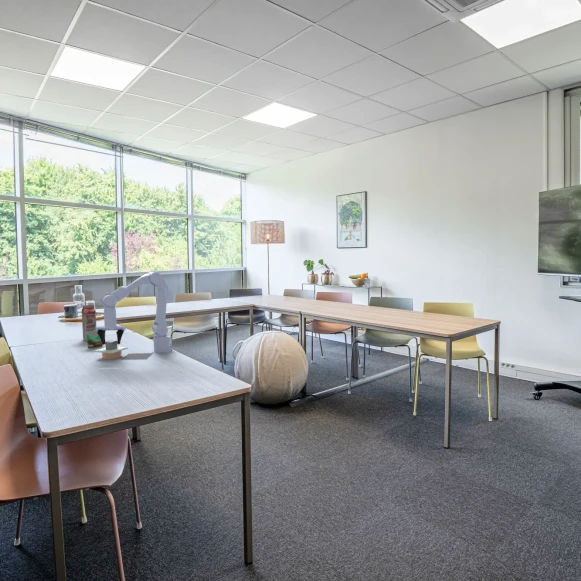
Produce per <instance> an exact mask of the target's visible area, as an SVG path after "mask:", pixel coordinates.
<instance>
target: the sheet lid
mask: <svg viewBox="0 0 581 581" xmlns="http://www.w3.org/2000/svg"><path fill="white" fill-rule="evenodd" d="M104 345H105V347H102V348H101V347H100V348H99V349H95V350H94V352H95V353H101V354H102V353H112V354H113V353H116V352H119V351H121V352H122V351H124V350H127V349H128V348H129V347H128V346H118V344H117V340H113V339H112V340H111V339H110V340H107V341H106V340H105V344H104Z"/></svg>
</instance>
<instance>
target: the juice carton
mask: <svg viewBox="0 0 581 581" xmlns="http://www.w3.org/2000/svg"><path fill="white" fill-rule="evenodd" d="M81 307H82V308H81V323H82V324H81V326H82V340H83V341H84V342H87V335H86V331H92V330H96V327H97V313H96V311H97V310H96V309H95V304H87V305H86V304H85V305H82V306H81Z"/></svg>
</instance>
